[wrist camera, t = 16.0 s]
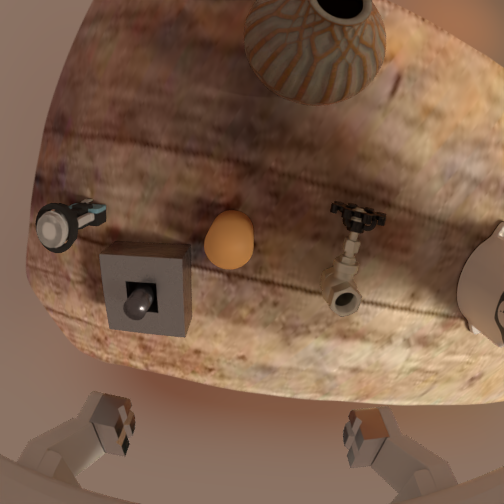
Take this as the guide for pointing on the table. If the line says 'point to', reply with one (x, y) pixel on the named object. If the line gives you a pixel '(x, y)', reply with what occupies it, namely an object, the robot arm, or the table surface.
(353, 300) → the valve
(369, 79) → the vase
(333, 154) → the table surface
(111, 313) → the bore block
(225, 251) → the orange rounded tapered piece
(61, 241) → the push button
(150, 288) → the cylinder
